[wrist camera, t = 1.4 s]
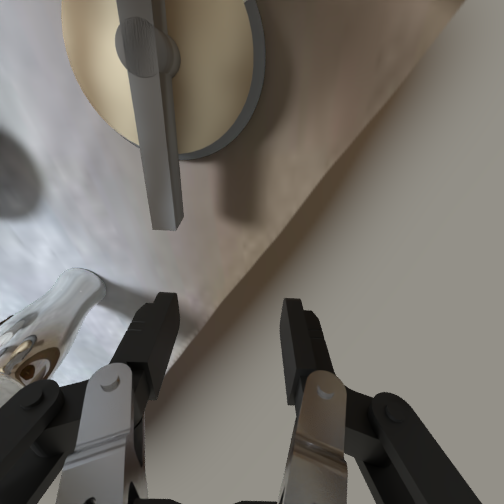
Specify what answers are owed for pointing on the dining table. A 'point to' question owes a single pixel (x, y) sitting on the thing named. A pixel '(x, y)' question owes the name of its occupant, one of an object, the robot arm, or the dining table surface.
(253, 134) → the dining table surface
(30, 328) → the beer glass
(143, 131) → the capstan dial
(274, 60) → the dining table surface
